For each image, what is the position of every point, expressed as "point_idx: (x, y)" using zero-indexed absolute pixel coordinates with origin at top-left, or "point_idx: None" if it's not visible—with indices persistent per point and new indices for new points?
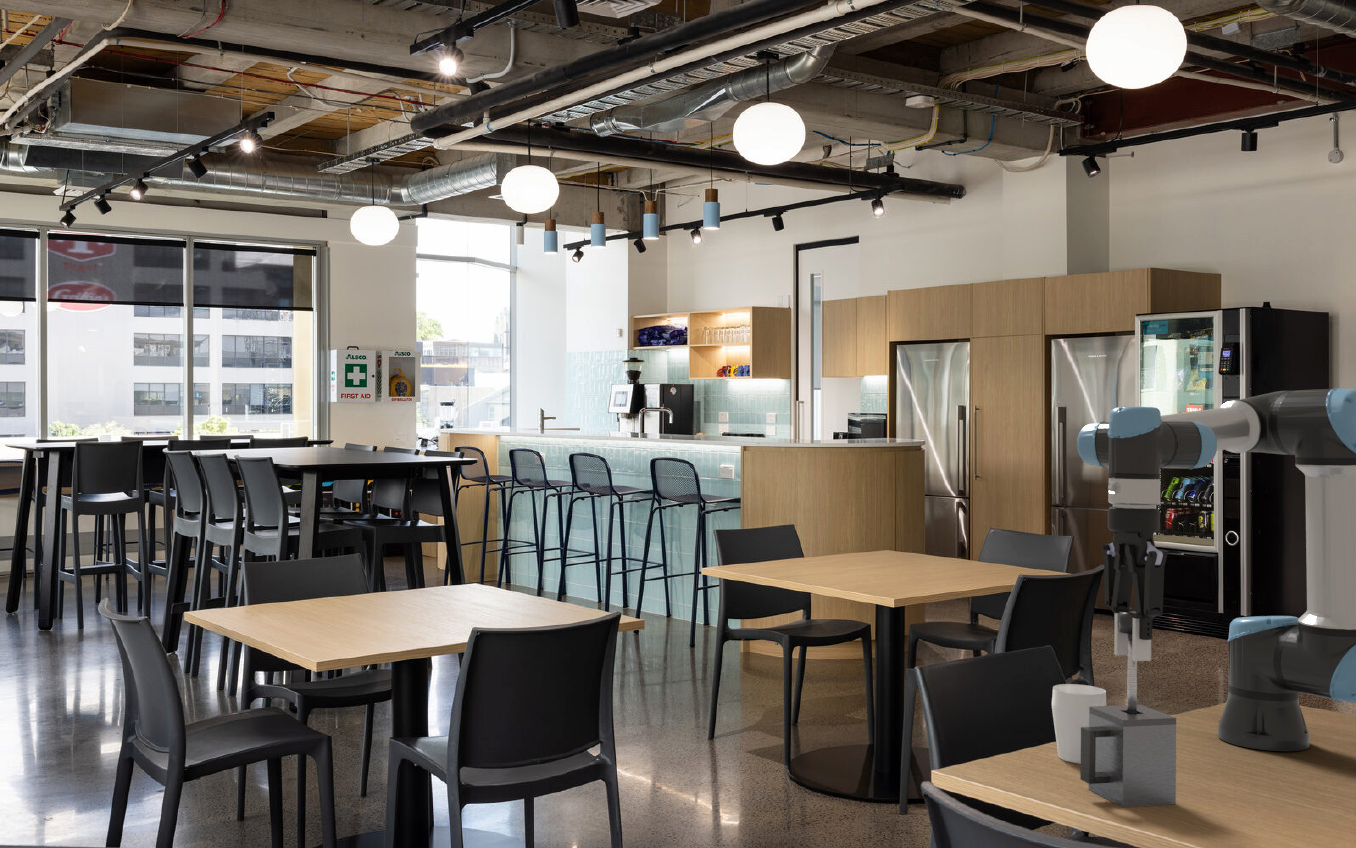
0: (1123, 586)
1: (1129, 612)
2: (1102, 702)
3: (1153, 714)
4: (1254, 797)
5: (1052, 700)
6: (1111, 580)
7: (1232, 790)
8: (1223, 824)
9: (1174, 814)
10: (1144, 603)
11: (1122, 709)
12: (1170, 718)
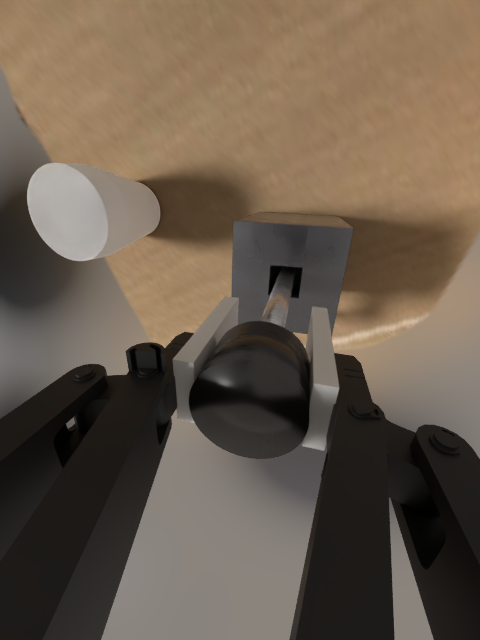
0: (124, 535)
1: (233, 418)
2: (110, 194)
3: (313, 254)
4: (355, 46)
5: (78, 253)
6: (1, 540)
7: (312, 61)
8: (430, 211)
9: (369, 247)
10: (412, 551)
11: (262, 284)
12: (350, 242)
